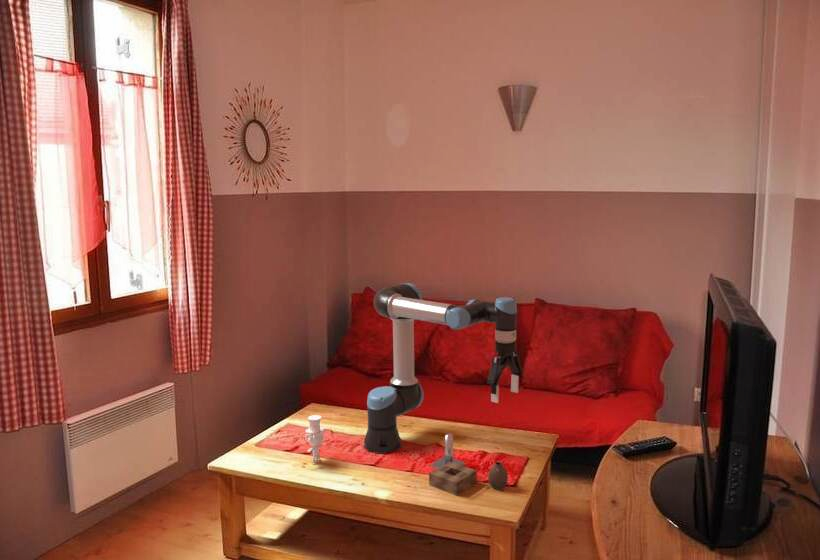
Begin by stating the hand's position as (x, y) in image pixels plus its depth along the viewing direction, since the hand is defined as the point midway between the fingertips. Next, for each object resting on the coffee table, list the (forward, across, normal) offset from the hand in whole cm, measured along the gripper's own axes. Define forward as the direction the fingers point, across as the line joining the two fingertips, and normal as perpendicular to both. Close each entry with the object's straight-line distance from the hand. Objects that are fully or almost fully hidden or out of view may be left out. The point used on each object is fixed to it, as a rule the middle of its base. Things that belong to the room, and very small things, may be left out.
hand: (504, 396), depth 238 cm
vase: (+28, -13, -6) cm, 32 cm away
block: (+28, -22, +7) cm, 37 cm away
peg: (+28, -11, +17) cm, 34 cm away
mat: (+28, -11, +18) cm, 35 cm away
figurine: (+28, -40, +59) cm, 77 cm away
